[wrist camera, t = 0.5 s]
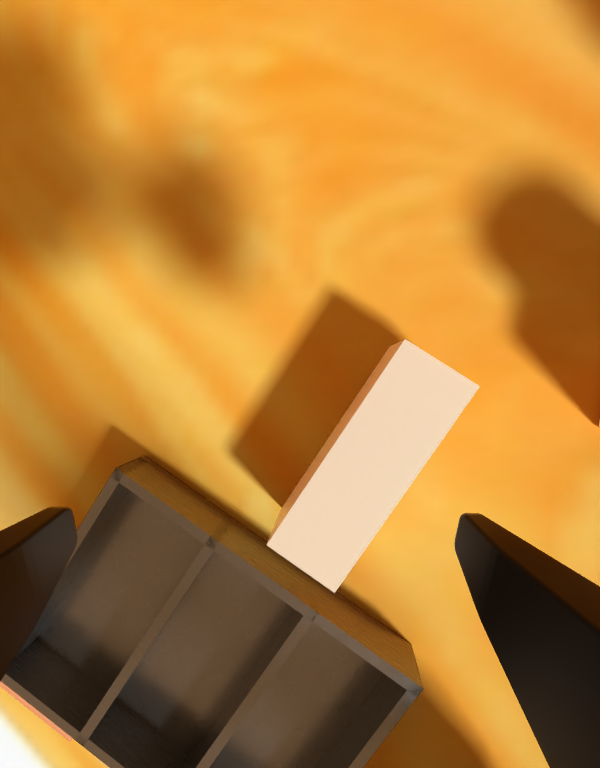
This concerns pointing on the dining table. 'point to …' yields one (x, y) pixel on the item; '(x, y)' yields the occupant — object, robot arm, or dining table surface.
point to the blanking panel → (369, 462)
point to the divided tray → (204, 644)
